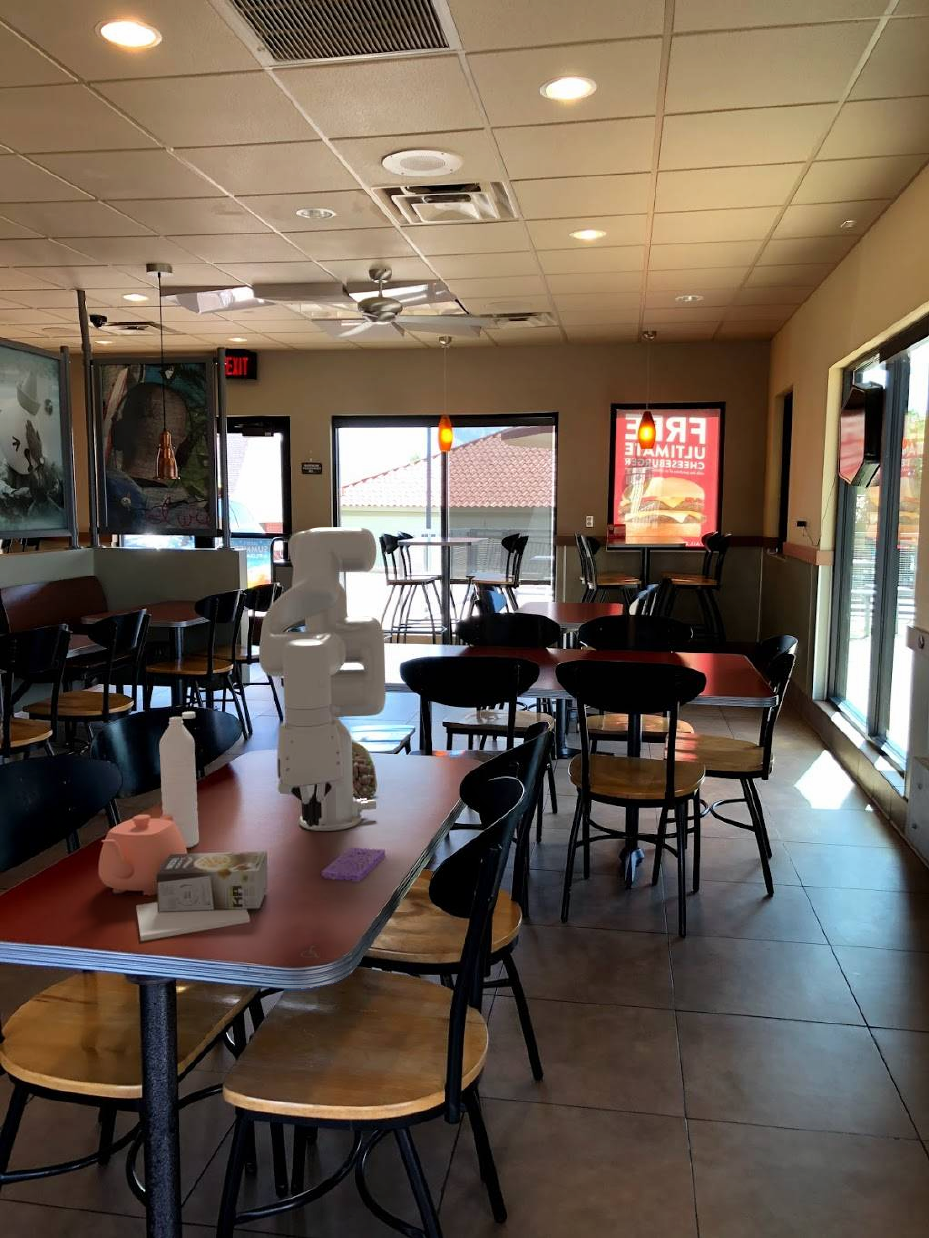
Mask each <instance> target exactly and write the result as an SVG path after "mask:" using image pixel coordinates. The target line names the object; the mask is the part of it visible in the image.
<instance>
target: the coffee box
mask: <svg viewBox="0 0 929 1238" xmlns="http://www.w3.org/2000/svg"><path fill="white" fill-rule="evenodd" d="M156 876H157V894H156V899H157V900H156V902H157V906H158V912H165V911H194V910H222V909H246V910H248V909H260V908H261V905H262V903H263V900H264V898H265V894H266V892H267V889H268V887H269V881H268V880H269V879H268V876H269V874H268V852H267V850H265V851H264V850H259V851H258V850H257V851H256V850H255V851H235V852H233V851H231V852H228V851H227V852H201V853H198V852H197V853H187V854H170V856H169V857H168V858H167V860H166V861H165V863H164V864H163V866H162V867H161V869H160V870H159V872H158V873H157V875H156Z"/></svg>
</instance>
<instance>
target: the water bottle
mask: <svg viewBox="0 0 929 1238" xmlns="http://www.w3.org/2000/svg"><path fill="white" fill-rule="evenodd" d="M181 715H182V716H171V717H169V719H168V720H169V722H168V724H169V725H168V726H167V729H165V731H164V733H163V735H162V737H161V738H160V740H159V743H158V745H159V747H158V748H159V749H158V750H159V755H160V756H159V760H160V762H159V763H160V780H161V782H160V788H161V789H160V791H161V803H162V804H161V808H162V815H164V814H171V815H172V816H173V822H174V823H175V824H176V826H177V828H178V830H179V832H180V833H181V835H182V838H183V840H184V843H185V846H186V849H187V848H188V849H189V848H193V847H195V846H196V845H198V844H199V841H200V837H199V835H200V834H199V833H200V832H199V820H198V817H199V813H198V812H199V811H198V800H197V799H198V794H197V793H198V792H197V788H198V787H197V778H196V777H197V773H196V772H197V771H196V754H195V752H196V751H195V750H196V748H195V747H196V743H195V739H194V737H193V735H192V734H191V733H190V731H189V730H188V729H187V727H185V725H184V721H183V719H184V720H185V719H195V718H196V712H195V711H184V712H182V713H181Z"/></svg>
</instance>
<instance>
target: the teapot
mask: <svg viewBox="0 0 929 1238" xmlns="http://www.w3.org/2000/svg"><path fill="white" fill-rule="evenodd" d="M101 842H102V843H103V844H102V848H101V851H100V855H99V860H98V877H99V878H100V880H101V882H102V883H103V884H104V885H105V887H109V888H110V889H111V888H112V889H113V890H112V893H113V894H122V893H125V892H127V891H139V892H140V891H142V892H143V894H142V895H143V896H145V895H148V896H147V897H150V896H151V895H152V896H155V895H157V894H156V893H157V876H156V875H157V873H158V872H159V870H160V869H161V867H162V866H163V864H164V863H165V861H166V860H167V858H168V857H169V856H170V854H188V850H187V848H186V846H185V843H184V840H183V838H182V835H181V833H180V832H179V830H178V828H177V826H176V824H175V823H174V822H173V816H172V815H171V814H164V815H163V814H162V815H161V816H160V817H158V818H151V815H150V814H138V815H135V816H133V817H132V818H131V819H128V820H125V821H123V822H121V823H119V824H117V825H116V826H114V827H112V828H111V829H109V831H108V832H107V834H106V837H105V839H102V840H101ZM126 890H127V891H126ZM149 895H150V896H149ZM152 896H151V897H152Z"/></svg>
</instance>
